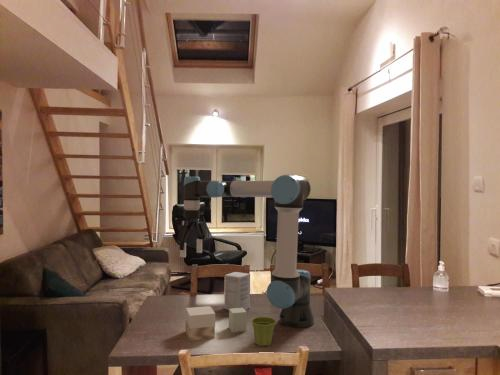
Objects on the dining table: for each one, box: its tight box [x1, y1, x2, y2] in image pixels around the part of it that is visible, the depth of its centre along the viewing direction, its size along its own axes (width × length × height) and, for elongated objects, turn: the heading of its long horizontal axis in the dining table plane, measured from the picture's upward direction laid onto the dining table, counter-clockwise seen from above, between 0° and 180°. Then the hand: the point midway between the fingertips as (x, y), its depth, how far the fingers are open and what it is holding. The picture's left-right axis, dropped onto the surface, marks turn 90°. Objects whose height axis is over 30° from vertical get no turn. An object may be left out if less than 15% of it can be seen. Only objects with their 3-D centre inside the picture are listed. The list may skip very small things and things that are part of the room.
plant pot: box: [251, 316, 277, 347], centre depth 154 cm, size 9×9×9 cm
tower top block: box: [185, 305, 216, 329], centre depth 162 cm, size 10×10×5 cm
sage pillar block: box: [228, 308, 248, 333], centre depth 169 cm, size 6×6×8 cm
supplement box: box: [224, 271, 251, 311], centre depth 196 cm, size 10×9×17 cm
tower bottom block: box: [185, 320, 216, 342], centre depth 162 cm, size 10×10×5 cm
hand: (191, 254), depth 189 cm, fingers open, 13 cm apart
